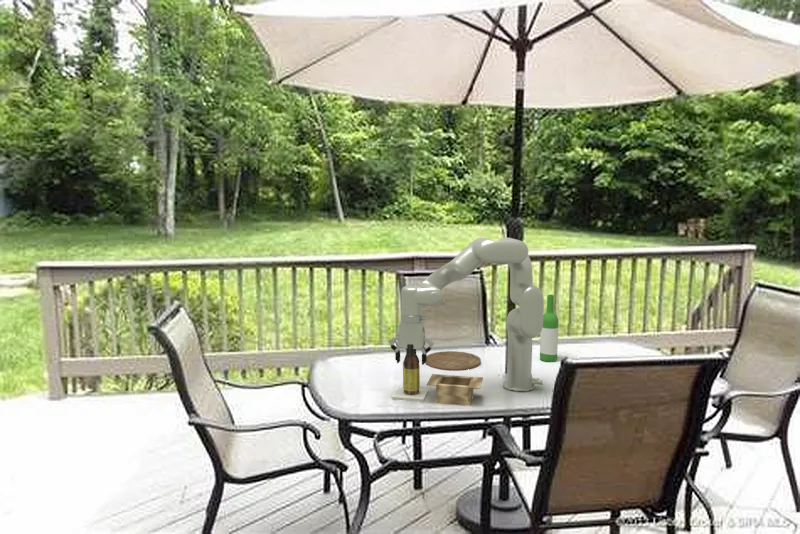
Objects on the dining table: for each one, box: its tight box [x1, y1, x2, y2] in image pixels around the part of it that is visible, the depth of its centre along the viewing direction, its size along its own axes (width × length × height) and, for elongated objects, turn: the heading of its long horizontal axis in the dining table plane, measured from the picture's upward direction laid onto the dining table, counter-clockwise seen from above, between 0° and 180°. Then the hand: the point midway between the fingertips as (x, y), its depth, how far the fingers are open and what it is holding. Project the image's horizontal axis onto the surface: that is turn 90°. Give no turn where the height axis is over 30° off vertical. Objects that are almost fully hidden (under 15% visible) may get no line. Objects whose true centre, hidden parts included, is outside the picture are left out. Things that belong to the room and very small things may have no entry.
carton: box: [426, 373, 484, 406], centre depth 242 cm, size 20×13×7 cm, turn 78°
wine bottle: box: [539, 294, 559, 363], centre depth 291 cm, size 8×8×30 cm
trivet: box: [425, 350, 482, 372], centre depth 289 cm, size 25×25×2 cm
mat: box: [391, 386, 430, 403], centre depth 245 cm, size 12×12×1 cm
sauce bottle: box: [402, 344, 421, 395], centre depth 244 cm, size 7×6×20 cm
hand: (410, 362), depth 244 cm, fingers open, 9 cm apart
